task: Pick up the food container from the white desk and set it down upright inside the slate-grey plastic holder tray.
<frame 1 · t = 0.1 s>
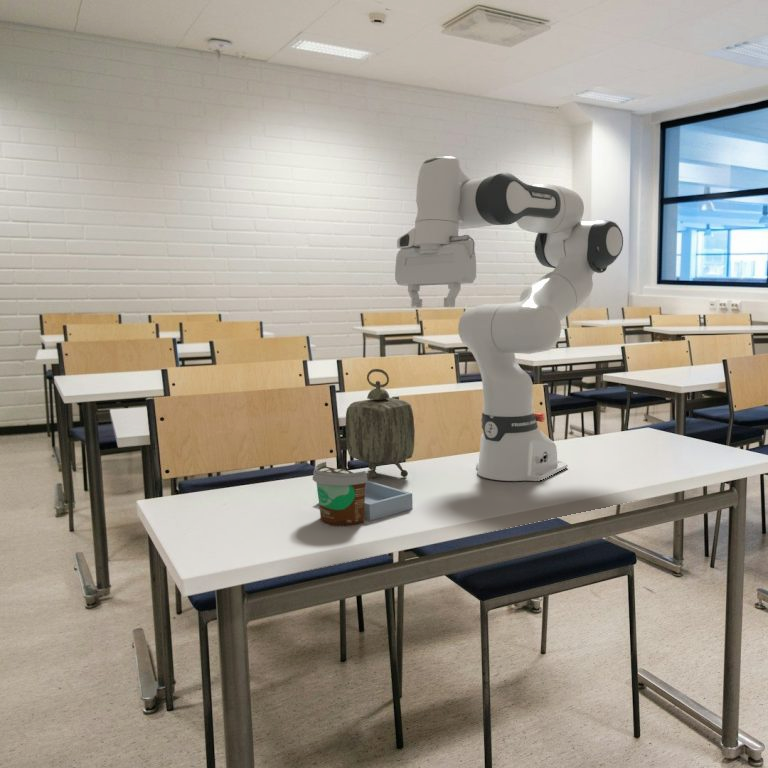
hand: (432, 307, 141), 39 cm above the table, tool pointing down, fingers open, 8 cm apart
holder tray: (364, 505, 138), on the table
food container: (334, 522, 129), on the table
tabletop clock: (379, 476, 161), on the table
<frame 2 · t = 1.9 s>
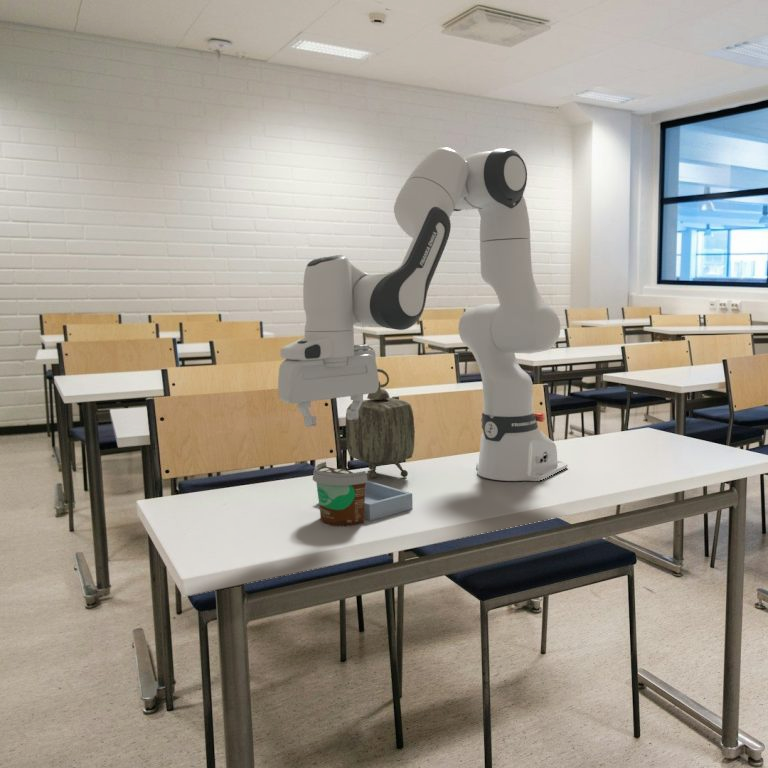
hand: (332, 422, 127), 19 cm above the table, tool pointing down, fingers open, 8 cm apart
nothing on the table moved.
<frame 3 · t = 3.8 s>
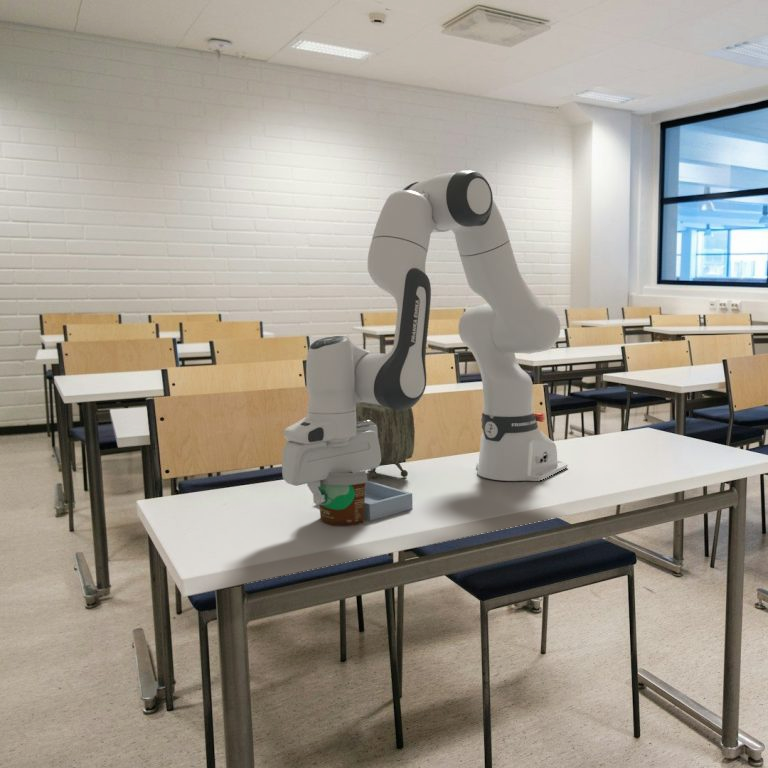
hand: (335, 499, 128), 4 cm above the table, tool pointing down, fingers closed on food container, 5 cm apart
food container: (334, 522, 129), on the table, touching gripper
everything else where it was.
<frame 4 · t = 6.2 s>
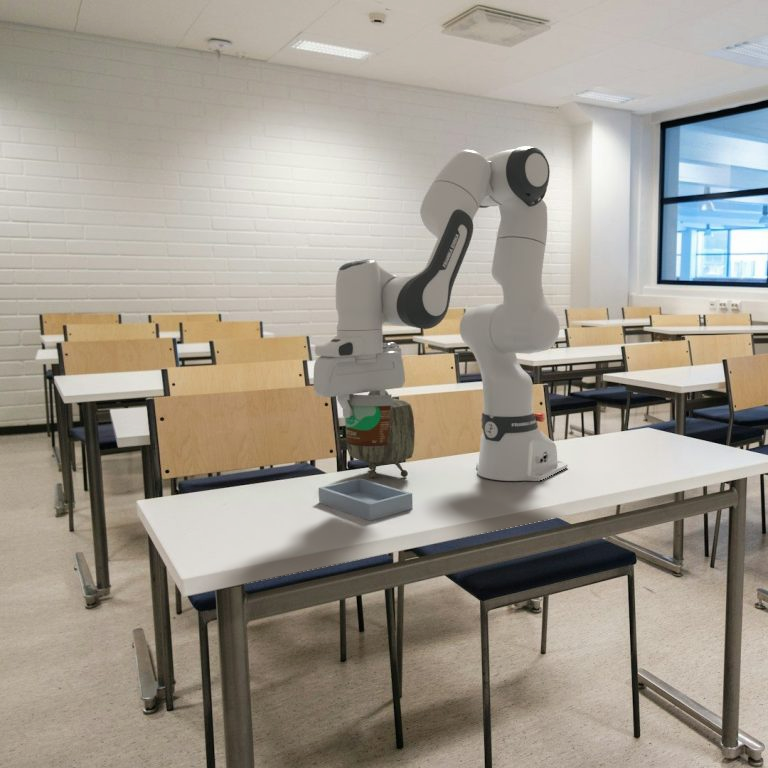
hand: (362, 415, 136), 18 cm above the table, tool pointing down, fingers closed on food container, 5 cm apart
food container: (359, 445, 136), point 12 cm above the table, touching gripper
everything else where it was.
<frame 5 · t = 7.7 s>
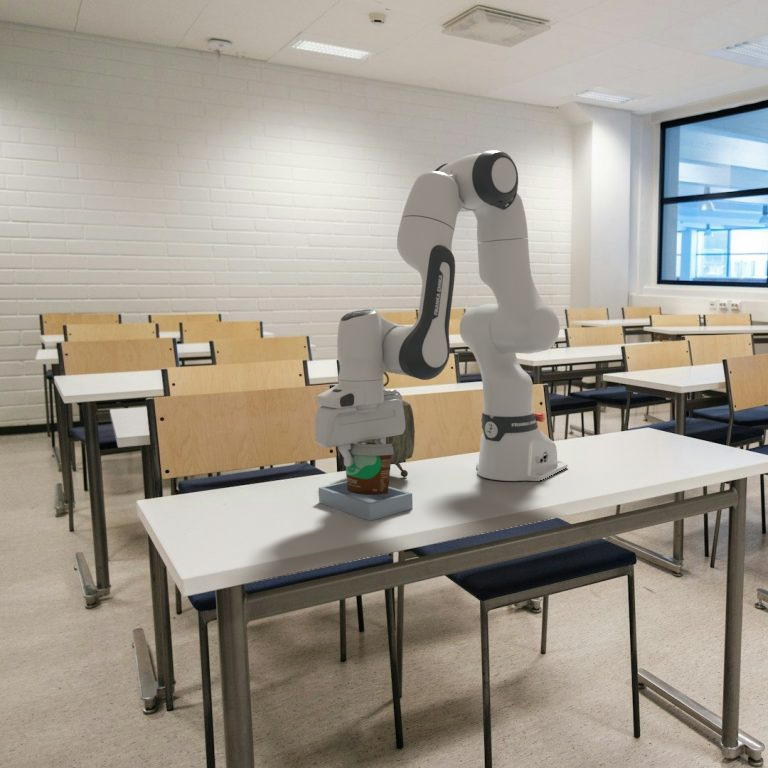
hand: (363, 462, 137), 9 cm above the table, tool pointing down, fingers closed on food container, 5 cm apart
food container: (360, 492, 137), point 3 cm above the table, touching gripper
everything else where it was.
when the fingers open (7 cm above the table, at t = 8.7 s): food container moves 1 cm, resting on holder tray.
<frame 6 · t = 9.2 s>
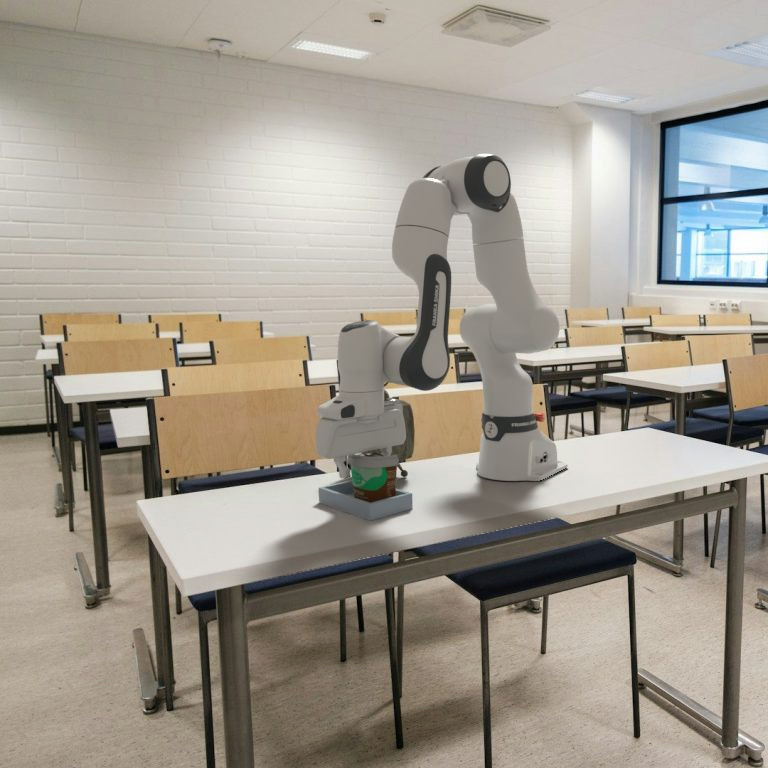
hand: (364, 473, 138), 7 cm above the table, tool pointing down, fingers open, 8 cm apart
food container: (367, 503, 139), resting on holder tray
everything else where it was.
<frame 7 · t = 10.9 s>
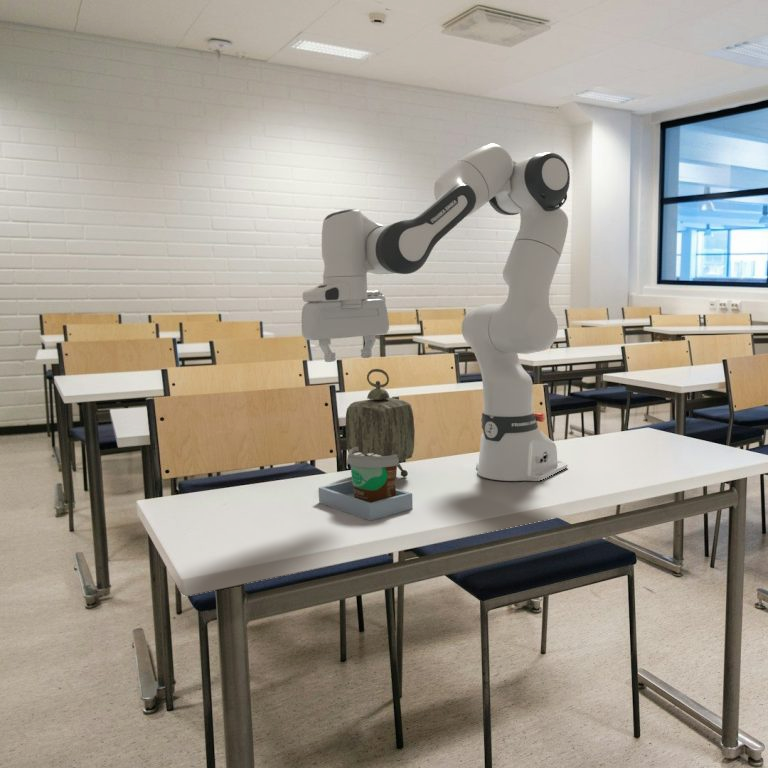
hand: (348, 359, 142), 29 cm above the table, tool pointing down, fingers open, 8 cm apart
nothing on the table moved.
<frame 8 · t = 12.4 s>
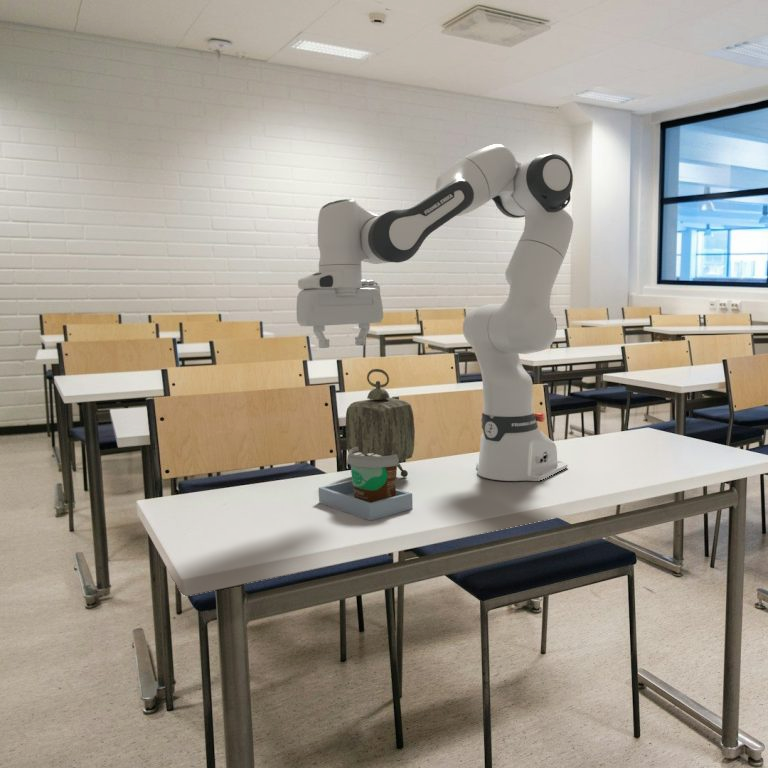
hand: (342, 346, 146), 31 cm above the table, tool pointing down, fingers open, 8 cm apart
nothing on the table moved.
at the end: food container 0.6 cm off-centre on the holder tray, point 0.4 cm above the holder tray's base; food container tilted 0°; the gripper is holding nothing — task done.
